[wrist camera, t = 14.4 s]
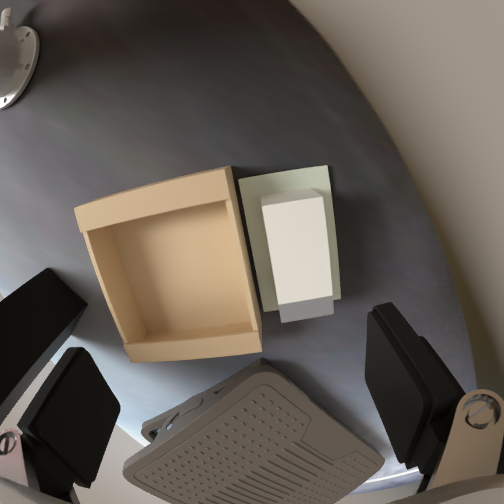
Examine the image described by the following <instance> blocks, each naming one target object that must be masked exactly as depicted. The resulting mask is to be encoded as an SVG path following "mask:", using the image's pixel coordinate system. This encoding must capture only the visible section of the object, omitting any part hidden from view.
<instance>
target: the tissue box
mask: <svg viewBox="0 0 504 504" xmlns="http://www.w3.org/2000/svg"><path fill="white" fill-rule="evenodd" d="M87 305H88V304H87V303H86V302H85V301H84V300H83V299H82V298H80V297H79V296H78V295H77V294H76V293H75V292H74V291H73V290H72V289H70V288H69V287H68V286H67V285H66V284H65V283H64V282H63V281H62V280H61V279H60V278H59V277H58V276H57V275H56V274H55V273H54V272H53V271H51V270H50V269H49V268H46V269H45V270H43V271H42V272H40V273H39V274H38V275H36V276H35V277H33V278H32V279H30V280H29V281H28V282H26V283H25V284H23V285H22V286H21V287H19V288H18V289H17V290H15V291H14V292H13V293H11V294H10V295H9V296H7V297H6V298H5V299H3V300H2V301H1V302H0V425H1V424H2V422H3V421H4V419H5V418H6V417H7V415H8V414H9V413H10V411H11V410H12V408H13V407H14V406H15V404H16V403H17V402H18V400H19V399H20V398H21V396H22V395H23V393H24V392H25V391H26V389H27V388H28V387H29V386H30V384H31V383H32V382H33V380H34V379H35V378H36V377H37V375H38V374H39V373H40V372H41V370H42V369H43V368H44V367H45V365H46V364H47V363H48V362H49V360H50V359H51V358H52V357H53V356H54V354H55V353H56V352H57V351H58V350H59V348H60V347H61V346H62V345H63V343H64V342H65V341H66V340H67V339H68V338H69V337H70V335H71V333H72V331H73V330H74V328H75V326H76V324H77V322H78V321H79V319H80V317H81V315H82V314H83V312H84V310H85V308H86V307H87Z"/></svg>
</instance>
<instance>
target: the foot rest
mask: <svg viewBox="0 0 504 504" xmlns="http://www.w3.org/2000/svg"><path fill="white" fill-rule="evenodd" d="M169 423H172V424H173V425H172V427H171V428H170V429H169V430H167V426H168V425H169ZM160 427H161V429H160V431H159V432H158V434H157V436H156V435H155V434H154V433H152V430H156V429H158V428H160ZM141 434H142V436H143V437H144V438H145V439H146V440H148V441H149V442H150V443H151V444H149V445H148V446H146V447H145V448H143V449H142V450H141V451H139V452H138V453H136V454H134V455H133V456H132V457H130V458H129V459H127V460H126V461H125V463H124V466H123V476H124V478H126V480H127V481H129V482H130V483H132V484H133V485H135V486H137V487H139V488H141V489H142V490H144V491H146V492H148V493H150V494H152V495H154V496H156V497H158V498H160V499H163V500H165V501H167V502H169V503H172V504H334V503H336V502H337V501H338V500H340V499H341V498H343V497H344V496H346V495H347V494H349V493H350V492H351V491H353V490H354V489H356V488H357V487H358V486H360V485H361V484H362V483H364V482H365V481H366V480H368V479H369V478H370V477H371V476H373V475H374V474H375V473H376V472H377V471H379V470H380V469H381V467H382V466H383V465H384V462H385V459H384V458H383V456H382V455H381V454H380V453H379V452H378V451H376V450H375V449H374V448H372V447H371V446H370V445H368V444H367V443H366V442H365V441H363V440H362V439H361V438H359V437H358V436H357V435H356V434H354V433H353V432H352V431H350V430H349V429H348V428H347V427H345V426H344V425H343V424H342V423H340V422H339V421H338V420H337V419H335V418H334V417H333V416H332V415H331V414H329V413H328V412H327V411H326V410H324V409H323V408H322V407H321V406H320V405H318V404H317V403H316V402H315V401H314V400H312V399H311V398H310V397H309V396H308V395H307V394H306V393H305V392H303V391H302V390H301V389H300V388H299V387H298V386H296V385H295V384H294V383H293V382H292V381H291V380H290V379H288V378H287V377H286V376H285V375H283V374H282V373H281V372H280V371H279V370H277V369H276V368H274V367H272V366H269V363H268V362H267V361H266V360H265V359H264V358H260V359H259V360H257V361H255V362H254V363H252V364H251V365H249V366H247V367H246V368H244V369H242V370H241V371H239V372H237V373H236V374H234V375H232V376H230V377H229V378H227V379H225V380H224V381H222V382H220V383H218V384H217V385H215V386H213V387H211V388H210V389H208V390H206V391H204V392H202V393H200V394H197V395H195V396H193V397H191V398H190V399H188V400H187V401H185V402H184V403H182V404H180V405H178V406H176V407H174V408H172V409H170V410H168V411H166V412H164V413H162V414H160V415H158V416H156V417H154V418H152V419H150V420H148V421H146V422H144V423H143V424H142V430H141Z"/></svg>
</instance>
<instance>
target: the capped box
mask: <svg viewBox="0 0 504 504" xmlns="http://www.w3.org/2000/svg"><path fill="white" fill-rule="evenodd" d="M261 205H262V211H263V217H264V222H265V228H266V234H267V240H268V246H269V251H270V257H271V263H272V269H273V275H274V281H275V287H276V293H277V299H278V305H279V311H280V318H281V323H285V322H291V321H297V320H303V319H308V318H314V317H320V316H325V315H330V314H334V309H333V293H332V280H331V268H330V257H329V246H328V237H327V227H326V219H325V210H324V203H323V196H321V195H320V194H318V193H317V192H316V191H314V190H313V189H311V188H304V189H297V190H291V191H285V192H278V193H272V194H266V195H261Z"/></svg>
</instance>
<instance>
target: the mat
mask: <svg viewBox="0 0 504 504" xmlns="http://www.w3.org/2000/svg"><path fill="white" fill-rule="evenodd" d="M238 181H239V187H240V192H241V197H242V202H243V207H244V212H245V217H246V223H247V228H248V233H249V238H250V243H251V248H252V253H253V259H254V264H255V269H256V274H257V279H258V284H259V290H260V295H261V300H262V305H263V310H264V312H267V311H274V310H279V305H278V299H277V293H276V287H275V281H274V275H273V269H272V263H271V257H270V251H269V246H268V240H267V234H266V228H265V222H264V217H263V211H262V205H261V195H266V194H272V193H278V192H285V191H291V190H297V189H304V188H311V189H313V190H314V191H316V192H317V193H318V194H320V195H321V196H323V203H324V210H325V219H326V227H327V237H328V246H329V257H330V268H331V280H332V293H333V300H336V299H341V290H340V275H339V262H338V250H337V240H336V230H335V220H334V212H333V203H332V195H331V188H330V180H329V173H328V167H327V165H323V166H316V167H309V168H302V169H295V170H289V171H282V172H276V173H270V174H264V175H259V176H253V177H247V178H242V179H238Z"/></svg>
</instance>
